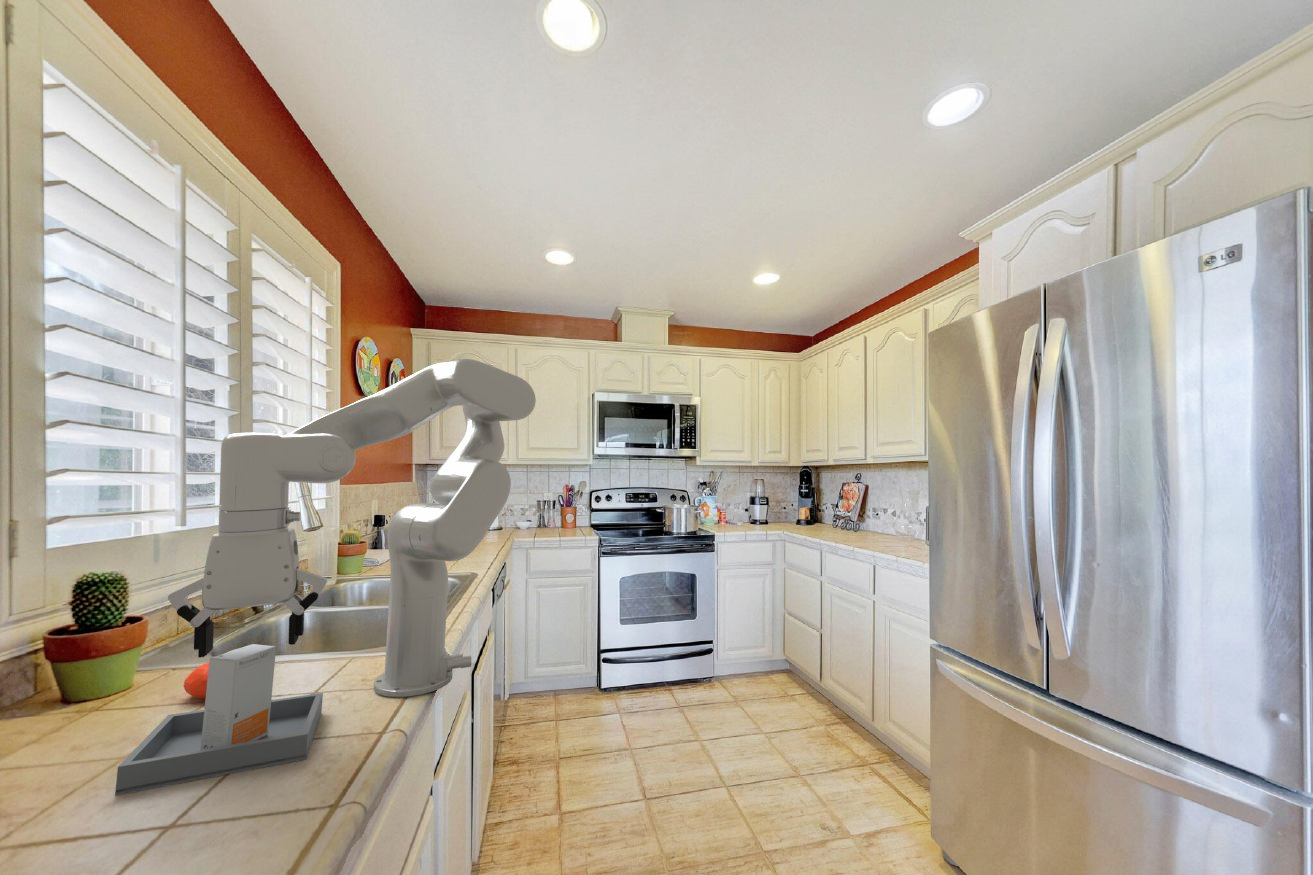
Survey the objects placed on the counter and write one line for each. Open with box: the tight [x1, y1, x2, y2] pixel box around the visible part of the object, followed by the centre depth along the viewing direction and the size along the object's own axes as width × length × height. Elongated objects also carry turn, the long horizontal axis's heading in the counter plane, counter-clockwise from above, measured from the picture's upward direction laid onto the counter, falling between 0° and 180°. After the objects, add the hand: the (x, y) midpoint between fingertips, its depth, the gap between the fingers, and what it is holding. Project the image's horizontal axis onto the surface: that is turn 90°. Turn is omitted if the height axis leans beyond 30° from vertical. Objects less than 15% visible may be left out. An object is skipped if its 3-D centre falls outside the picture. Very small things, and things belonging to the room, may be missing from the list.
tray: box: [114, 692, 324, 797], centre depth 68 cm, size 18×14×3 cm
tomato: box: [183, 662, 209, 700], centre depth 84 cm, size 7×8×6 cm
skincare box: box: [200, 643, 277, 750], centre depth 68 cm, size 6×4×12 cm
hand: (251, 647), depth 70 cm, fingers open, 9 cm apart
